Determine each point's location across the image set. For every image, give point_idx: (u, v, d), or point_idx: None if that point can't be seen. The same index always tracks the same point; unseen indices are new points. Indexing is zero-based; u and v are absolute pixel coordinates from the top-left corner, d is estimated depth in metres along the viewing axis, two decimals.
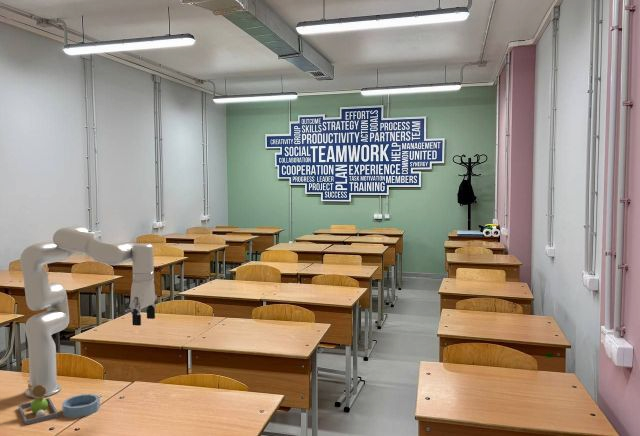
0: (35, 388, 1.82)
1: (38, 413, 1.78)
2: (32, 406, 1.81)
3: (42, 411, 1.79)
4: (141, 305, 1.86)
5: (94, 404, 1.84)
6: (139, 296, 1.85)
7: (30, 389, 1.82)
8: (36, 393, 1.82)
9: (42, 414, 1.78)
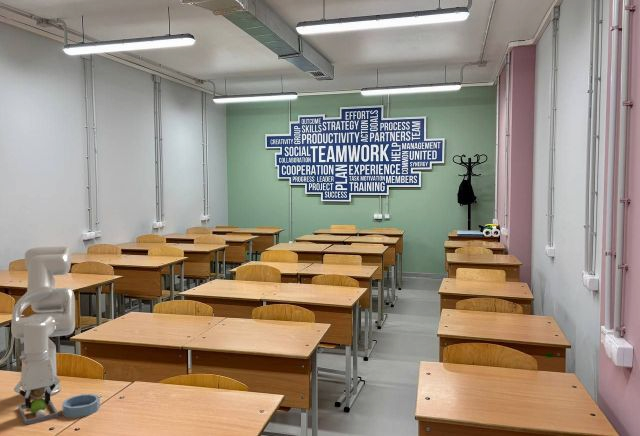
0: None
1: (38, 413, 1.78)
2: None
3: (42, 411, 1.79)
4: None
5: (94, 404, 1.84)
6: None
7: None
8: (34, 393, 1.82)
9: (42, 414, 1.78)
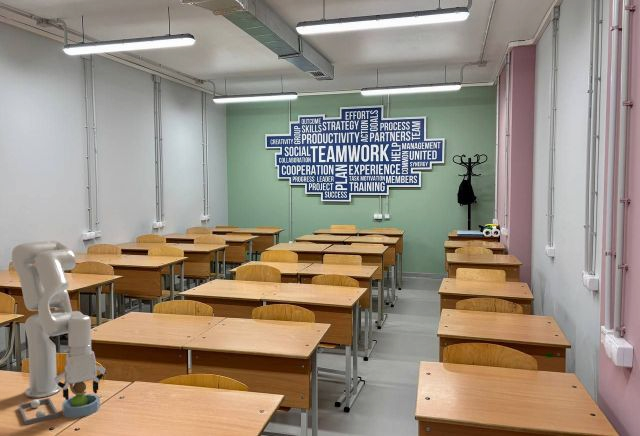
0: (75, 384, 1.84)
1: (38, 413, 1.78)
2: (72, 402, 1.83)
3: (42, 411, 1.79)
4: None
5: (94, 404, 1.84)
6: None
7: (71, 385, 1.84)
8: (76, 389, 1.84)
9: (42, 414, 1.78)
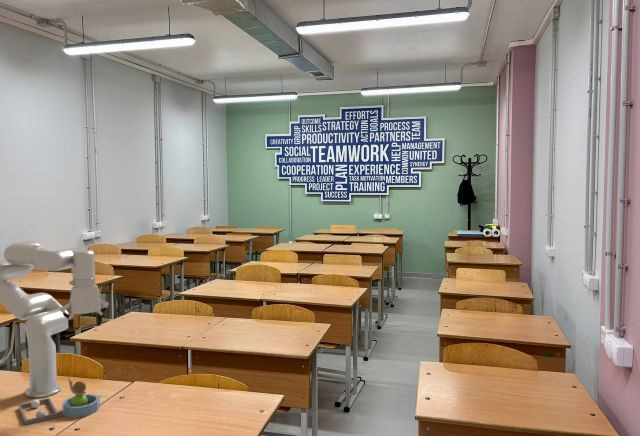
0: (75, 384, 1.84)
1: (38, 413, 1.78)
2: (72, 402, 1.83)
3: (42, 411, 1.79)
4: None
5: (94, 404, 1.84)
6: None
7: (71, 385, 1.84)
8: (76, 389, 1.84)
9: (42, 414, 1.78)
